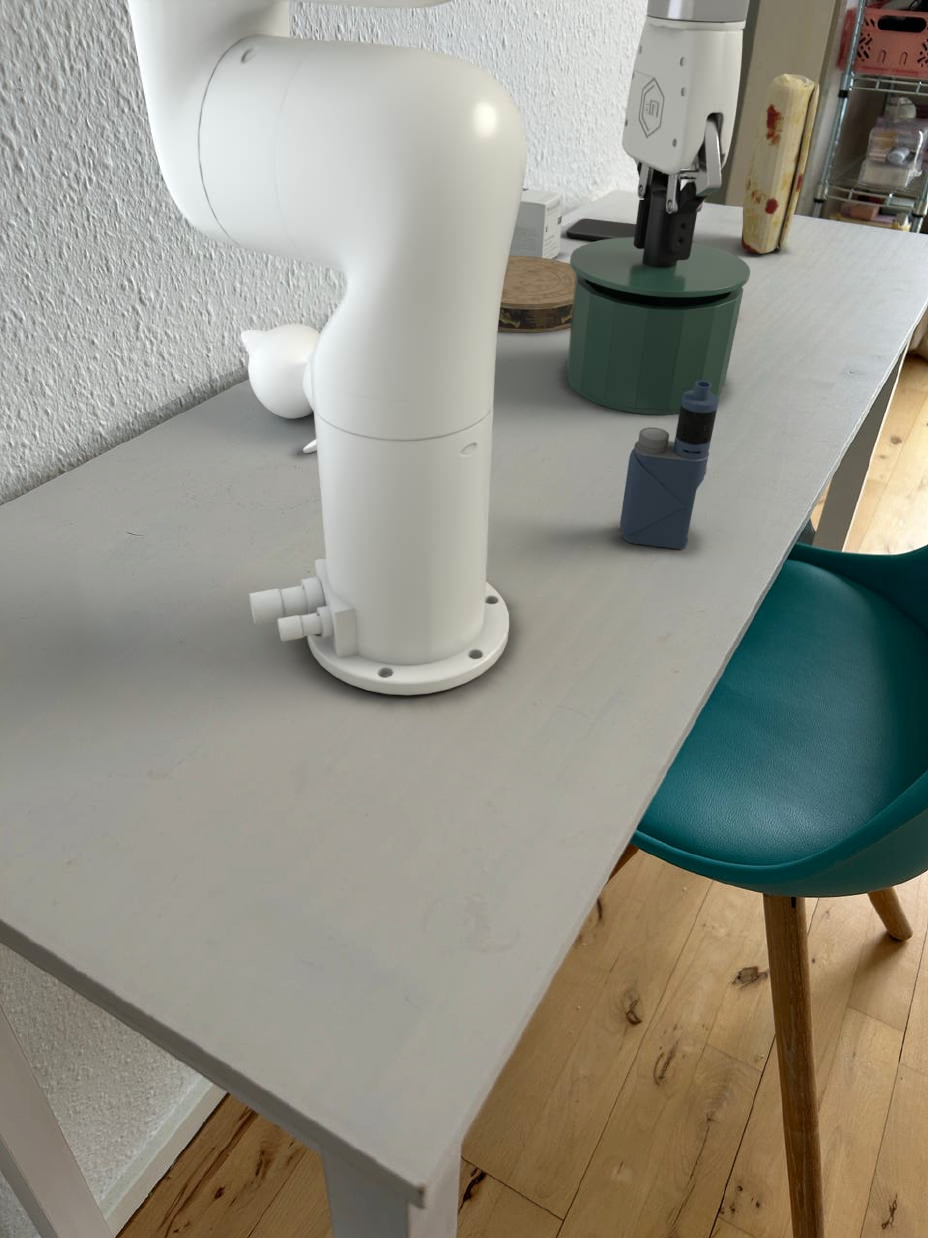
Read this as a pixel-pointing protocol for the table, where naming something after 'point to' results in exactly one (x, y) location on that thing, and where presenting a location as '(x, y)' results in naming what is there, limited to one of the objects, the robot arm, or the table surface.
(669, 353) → the waste tin
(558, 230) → the white cardboard box
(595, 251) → the tin lid
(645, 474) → the vaping device
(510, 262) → the round wooden disc
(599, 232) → the smartphone
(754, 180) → the food model
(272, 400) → the cat figurine
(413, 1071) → the table surface
